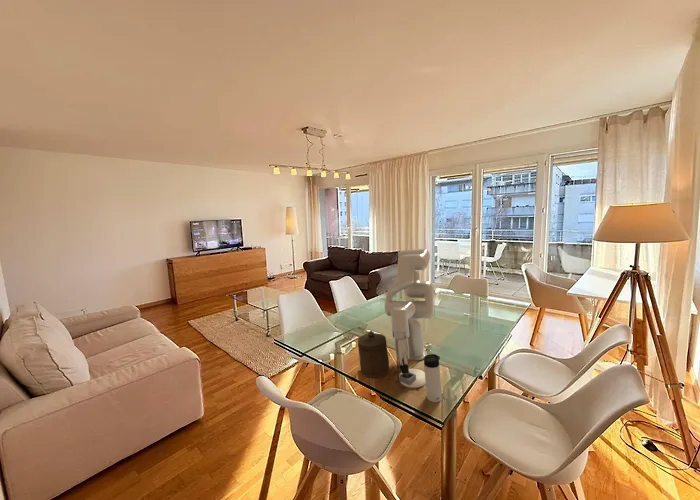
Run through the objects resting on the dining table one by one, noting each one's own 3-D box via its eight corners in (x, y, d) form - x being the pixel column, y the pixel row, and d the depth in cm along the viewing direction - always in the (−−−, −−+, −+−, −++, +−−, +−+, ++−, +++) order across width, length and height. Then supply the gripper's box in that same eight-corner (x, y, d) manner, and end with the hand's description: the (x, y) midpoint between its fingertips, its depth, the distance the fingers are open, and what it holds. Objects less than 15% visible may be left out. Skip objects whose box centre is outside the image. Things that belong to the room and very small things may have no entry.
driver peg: (404, 375, 134) (397, 354, 133) (411, 374, 133) (404, 352, 133) (404, 379, 131) (396, 357, 130) (411, 378, 130) (403, 356, 129)
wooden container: (371, 361, 157) (367, 324, 154) (395, 368, 147) (391, 329, 144) (355, 375, 146) (350, 335, 143) (379, 384, 136) (374, 341, 133)
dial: (409, 368, 143) (408, 361, 143) (432, 377, 134) (431, 369, 133) (393, 381, 135) (392, 373, 134) (416, 391, 125) (416, 383, 125)
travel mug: (442, 406, 117) (439, 361, 114) (426, 403, 119) (422, 359, 116) (443, 396, 122) (440, 353, 120) (427, 394, 125) (424, 352, 122)
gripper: (389, 327, 138) (393, 362, 140) (395, 341, 122) (399, 381, 124) (405, 325, 138) (408, 360, 140) (413, 339, 122) (416, 379, 124)
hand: (404, 370), depth 132 cm, fingers closed on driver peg, 3 cm apart
